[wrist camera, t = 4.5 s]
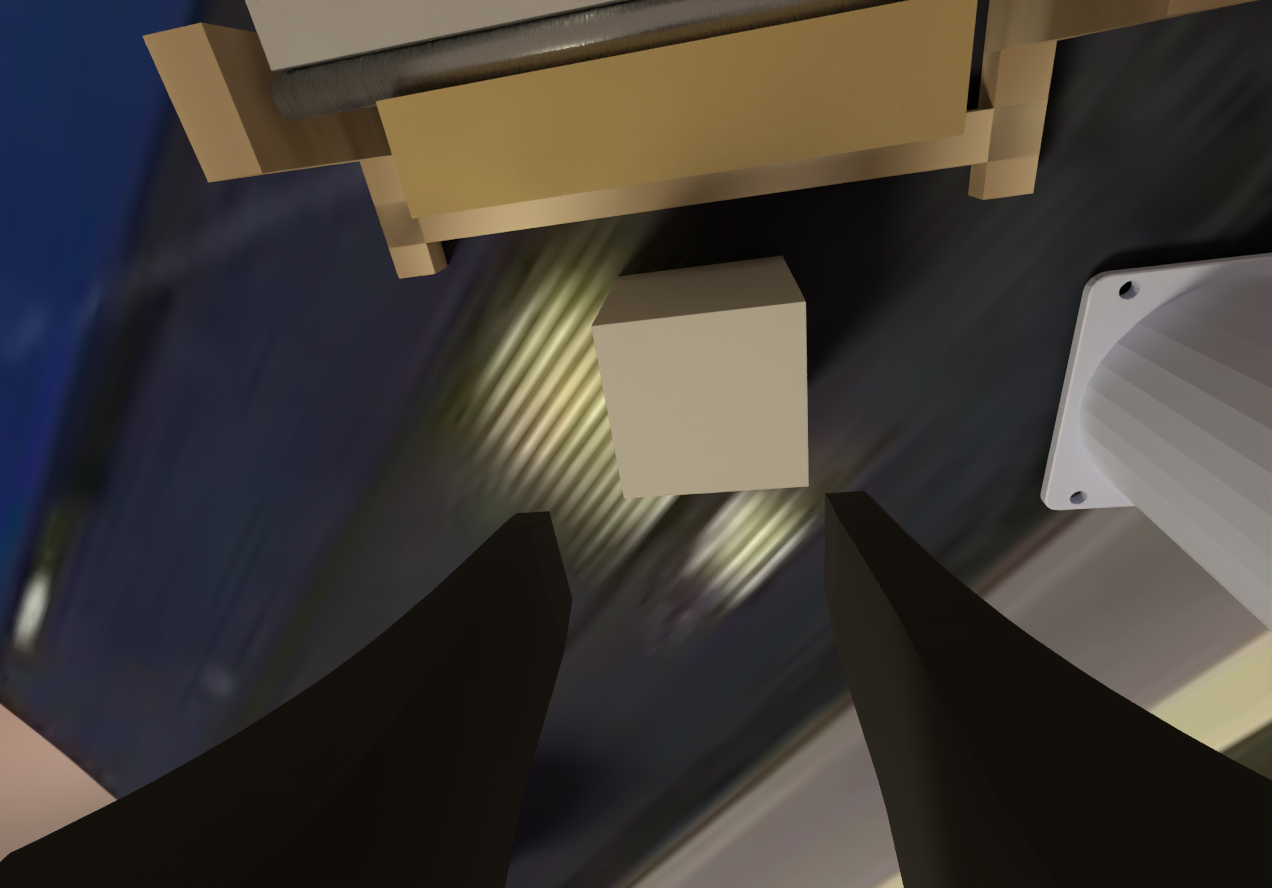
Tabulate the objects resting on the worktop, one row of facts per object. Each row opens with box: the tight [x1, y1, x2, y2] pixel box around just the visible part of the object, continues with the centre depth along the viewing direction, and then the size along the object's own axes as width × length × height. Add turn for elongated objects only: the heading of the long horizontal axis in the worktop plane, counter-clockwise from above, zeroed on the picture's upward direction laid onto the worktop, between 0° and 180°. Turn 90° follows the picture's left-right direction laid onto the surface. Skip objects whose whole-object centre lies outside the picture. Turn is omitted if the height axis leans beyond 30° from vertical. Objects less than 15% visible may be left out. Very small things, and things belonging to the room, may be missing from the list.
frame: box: [143, 0, 1256, 278], centre depth 13 cm, size 18×6×7 cm, turn 98°
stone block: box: [591, 256, 808, 498], centre depth 17 cm, size 5×5×5 cm
